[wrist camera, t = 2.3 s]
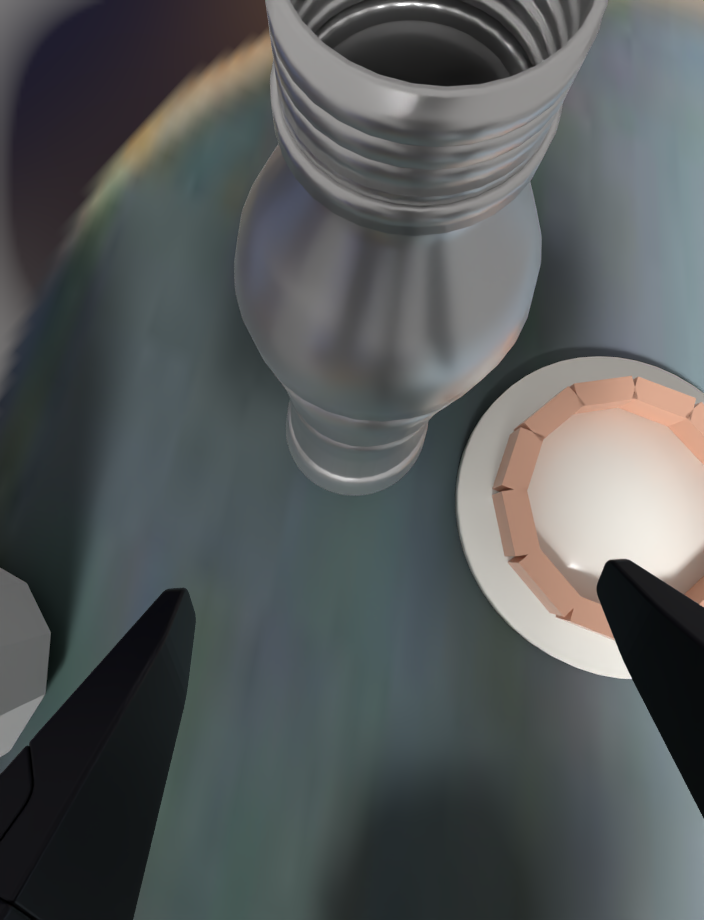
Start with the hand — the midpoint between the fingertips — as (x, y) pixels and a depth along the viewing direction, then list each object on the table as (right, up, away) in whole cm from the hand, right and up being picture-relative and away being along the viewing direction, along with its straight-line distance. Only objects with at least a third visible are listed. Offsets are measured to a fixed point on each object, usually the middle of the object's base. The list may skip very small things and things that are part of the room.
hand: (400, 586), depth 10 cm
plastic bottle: (-1, +4, +14) cm, 15 cm away
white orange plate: (+12, 0, +14) cm, 19 cm away
